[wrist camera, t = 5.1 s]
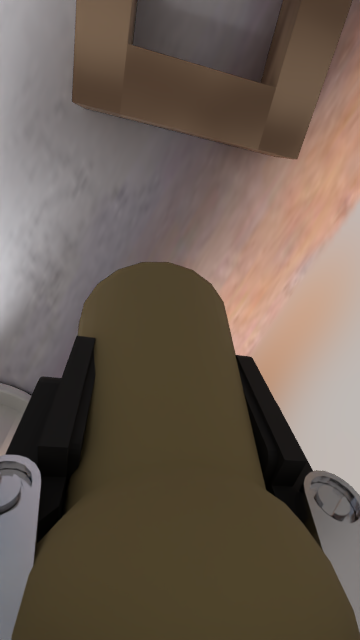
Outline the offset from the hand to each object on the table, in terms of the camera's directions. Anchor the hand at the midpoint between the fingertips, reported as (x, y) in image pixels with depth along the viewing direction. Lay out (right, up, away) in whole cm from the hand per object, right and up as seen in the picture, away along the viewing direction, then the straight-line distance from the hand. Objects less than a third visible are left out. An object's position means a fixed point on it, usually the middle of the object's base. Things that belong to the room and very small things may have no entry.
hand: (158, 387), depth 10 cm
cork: (0, +2, +3) cm, 4 cm away
